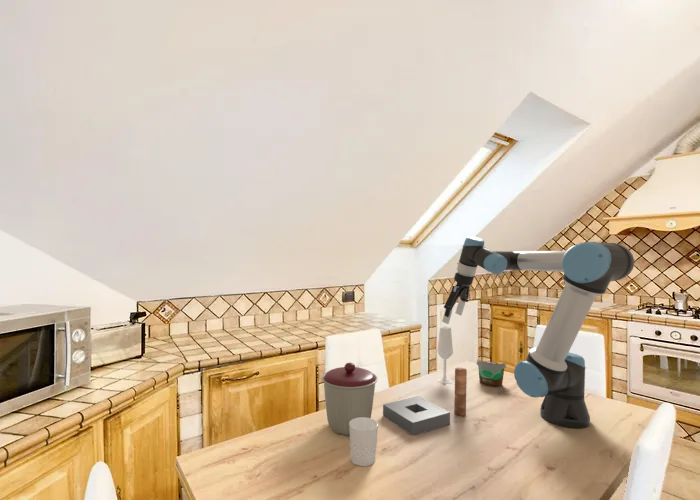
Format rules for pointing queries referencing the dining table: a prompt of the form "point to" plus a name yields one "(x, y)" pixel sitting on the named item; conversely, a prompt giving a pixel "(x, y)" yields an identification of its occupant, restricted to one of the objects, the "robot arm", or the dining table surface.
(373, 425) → the white cup
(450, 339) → the champagne flute
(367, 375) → the canister
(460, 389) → the peg
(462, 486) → the dining table surface
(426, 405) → the socket block
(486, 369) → the food container
